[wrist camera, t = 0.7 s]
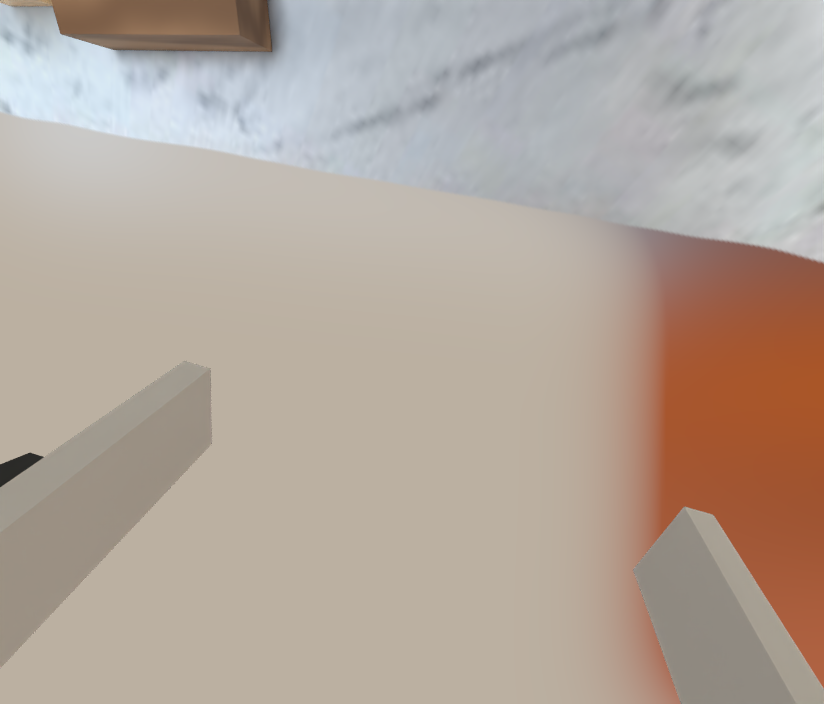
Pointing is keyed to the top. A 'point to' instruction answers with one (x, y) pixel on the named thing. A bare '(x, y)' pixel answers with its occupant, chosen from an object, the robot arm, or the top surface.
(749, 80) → the top surface
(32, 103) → the top surface
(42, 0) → the long pin
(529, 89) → the top surface
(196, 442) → the robot arm
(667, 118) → the top surface
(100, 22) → the hole block
